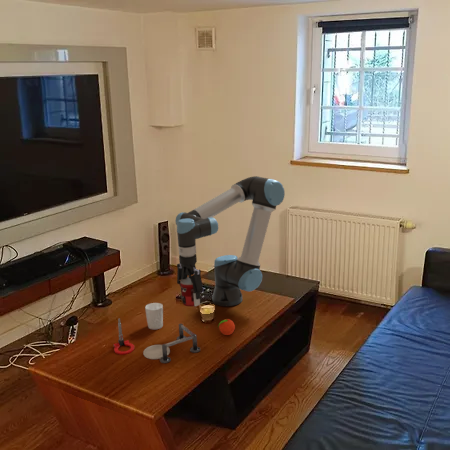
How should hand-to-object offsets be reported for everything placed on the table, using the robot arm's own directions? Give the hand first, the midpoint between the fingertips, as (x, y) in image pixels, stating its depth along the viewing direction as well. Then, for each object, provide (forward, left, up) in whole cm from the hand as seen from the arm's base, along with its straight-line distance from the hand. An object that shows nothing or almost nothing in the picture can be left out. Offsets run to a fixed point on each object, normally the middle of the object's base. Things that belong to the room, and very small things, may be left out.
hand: (190, 302), depth 244 cm
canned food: (0, 0, -1) cm, 1 cm away
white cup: (+12, -13, -14) cm, 22 cm away
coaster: (+22, +9, -13) cm, 27 cm away
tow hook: (+32, -2, -14) cm, 35 cm away
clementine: (-10, +13, -14) cm, 21 cm away
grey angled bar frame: (+15, +11, -13) cm, 23 cm away
